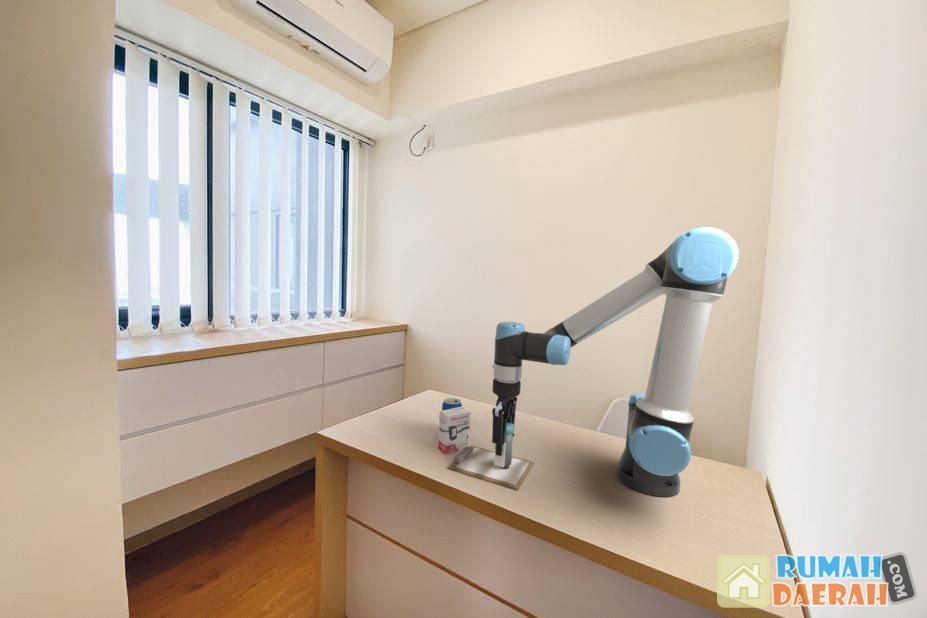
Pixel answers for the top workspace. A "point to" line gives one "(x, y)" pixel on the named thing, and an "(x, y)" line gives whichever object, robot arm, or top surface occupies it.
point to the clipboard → (490, 467)
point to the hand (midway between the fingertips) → (501, 461)
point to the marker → (508, 445)
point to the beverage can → (451, 403)
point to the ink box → (454, 429)
